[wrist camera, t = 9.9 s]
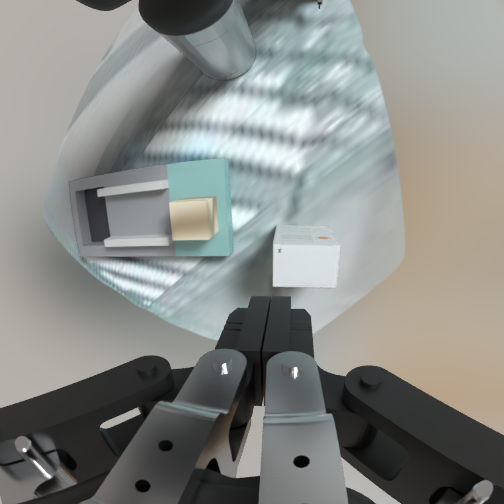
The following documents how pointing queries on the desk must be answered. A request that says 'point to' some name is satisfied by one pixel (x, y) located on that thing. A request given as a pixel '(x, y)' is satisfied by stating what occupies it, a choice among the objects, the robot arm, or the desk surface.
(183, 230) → the block
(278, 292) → the desk surface
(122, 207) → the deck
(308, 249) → the small box
